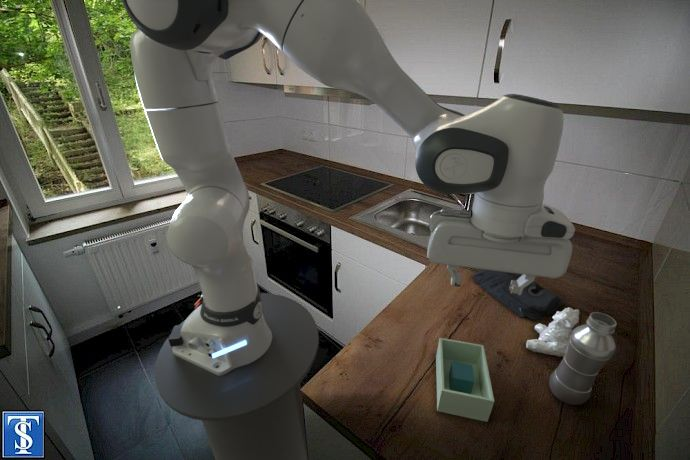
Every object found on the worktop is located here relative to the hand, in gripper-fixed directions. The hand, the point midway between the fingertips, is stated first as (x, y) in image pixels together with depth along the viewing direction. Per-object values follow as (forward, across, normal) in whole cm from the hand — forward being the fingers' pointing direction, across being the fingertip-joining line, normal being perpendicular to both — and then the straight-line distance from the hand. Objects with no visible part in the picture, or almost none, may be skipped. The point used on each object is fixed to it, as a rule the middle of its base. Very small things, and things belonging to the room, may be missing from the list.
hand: (484, 288), depth 53 cm
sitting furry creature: (+25, +22, +16) cm, 37 cm away
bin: (+22, -5, 0) cm, 23 cm away
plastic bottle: (+25, +20, +3) cm, 33 cm away
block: (+25, 0, 0) cm, 25 cm away
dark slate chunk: (+25, +18, +36) cm, 48 cm away
